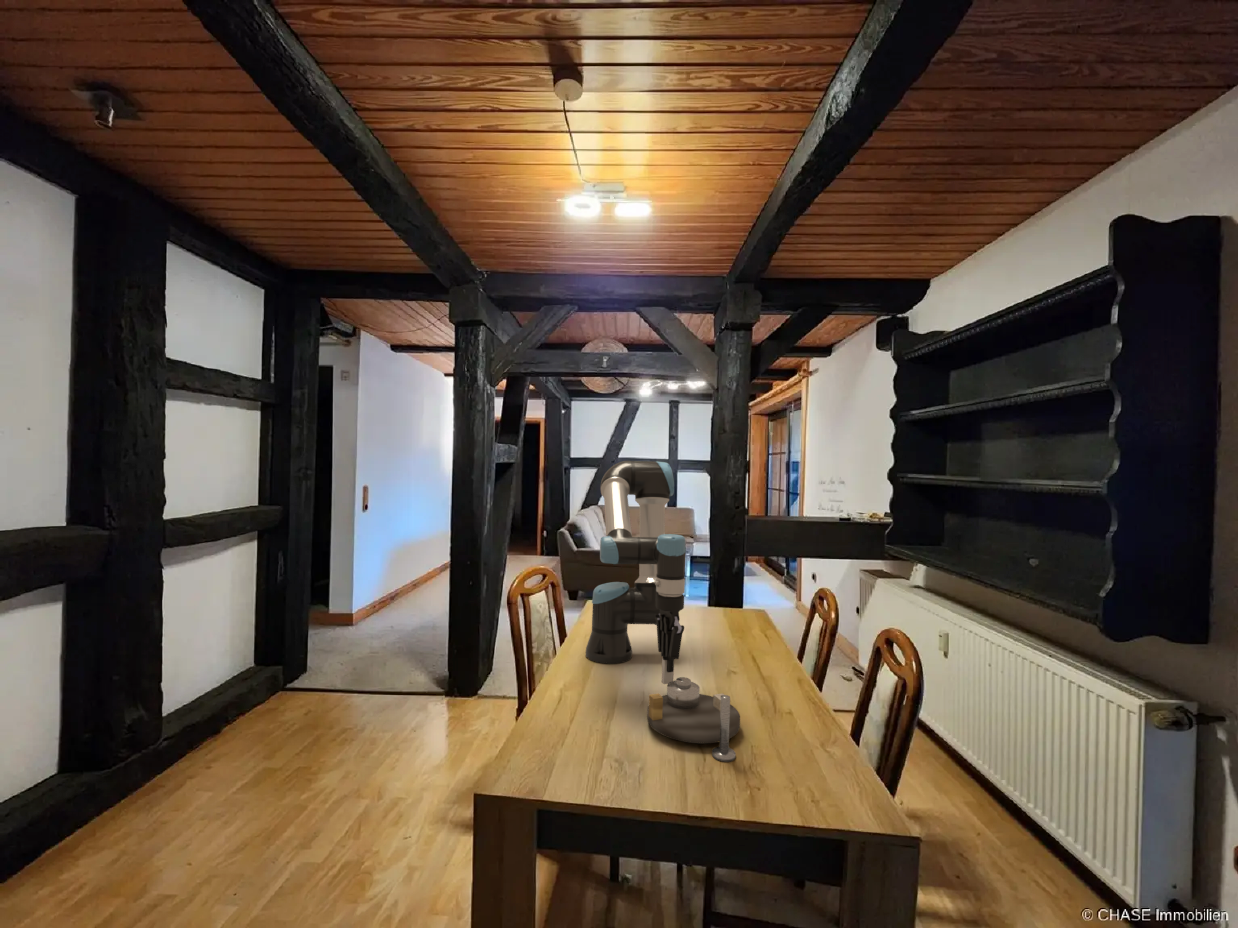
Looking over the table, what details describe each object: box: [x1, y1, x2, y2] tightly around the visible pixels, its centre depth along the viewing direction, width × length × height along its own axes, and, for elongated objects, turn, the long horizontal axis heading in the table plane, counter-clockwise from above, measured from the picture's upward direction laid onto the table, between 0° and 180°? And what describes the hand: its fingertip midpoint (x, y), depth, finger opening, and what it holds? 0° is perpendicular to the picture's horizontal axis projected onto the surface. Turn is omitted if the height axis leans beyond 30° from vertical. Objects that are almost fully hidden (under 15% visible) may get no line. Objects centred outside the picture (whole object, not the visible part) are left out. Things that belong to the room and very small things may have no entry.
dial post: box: [711, 693, 736, 763], centre depth 120 cm, size 6×5×13 cm
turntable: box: [646, 693, 741, 744], centre depth 133 cm, size 22×22×7 cm
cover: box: [666, 676, 700, 710], centre depth 138 cm, size 8×8×6 cm
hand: (667, 682), depth 147 cm, fingers closed
